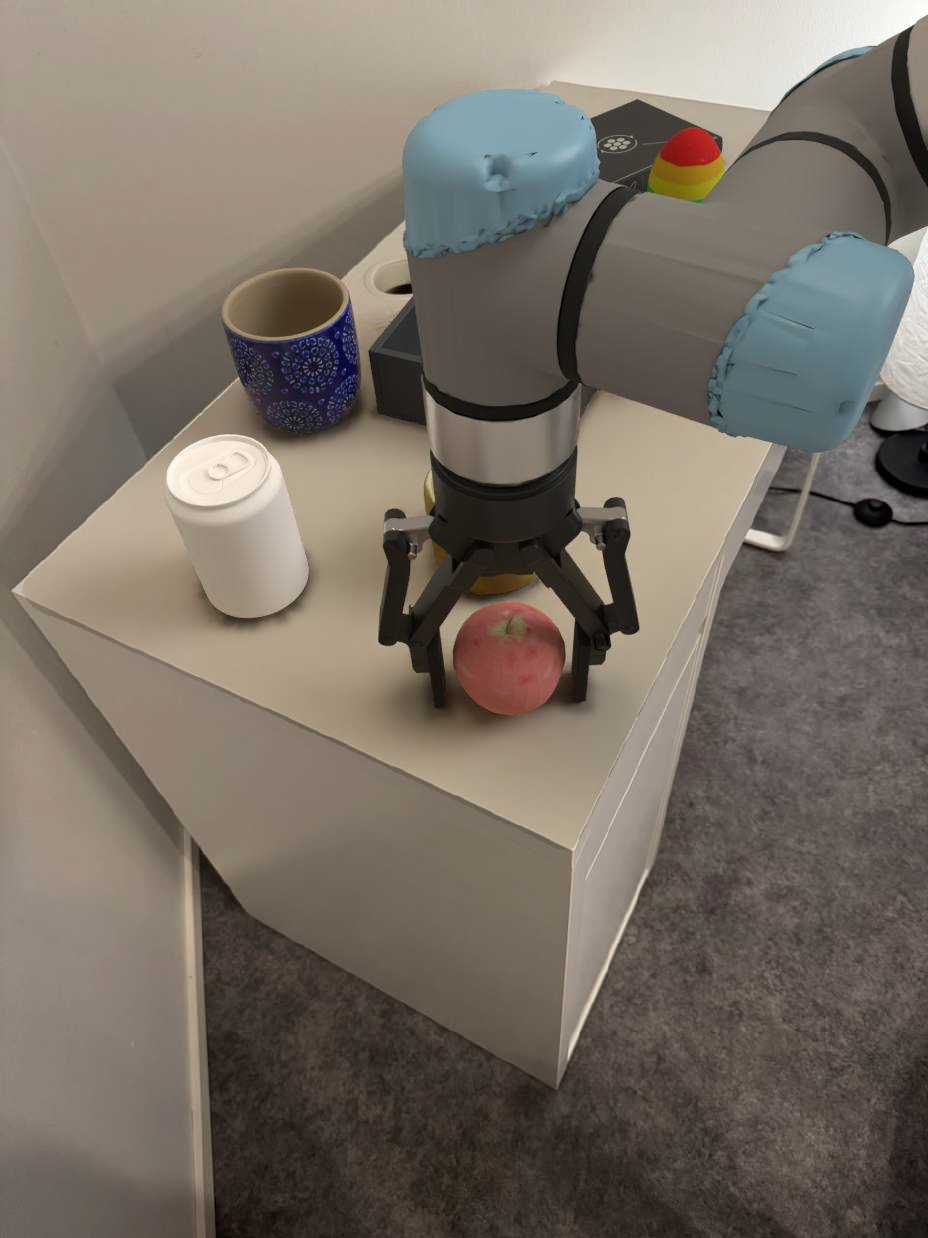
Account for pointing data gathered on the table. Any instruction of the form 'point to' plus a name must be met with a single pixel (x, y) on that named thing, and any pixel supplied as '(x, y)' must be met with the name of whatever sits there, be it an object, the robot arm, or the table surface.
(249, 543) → the beverage can
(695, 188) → the decorative egg
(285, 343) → the planter
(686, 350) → the robot arm
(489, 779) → the table surface
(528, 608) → the apple
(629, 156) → the book
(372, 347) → the dark grey open box
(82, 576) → the table surface
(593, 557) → the table surface
